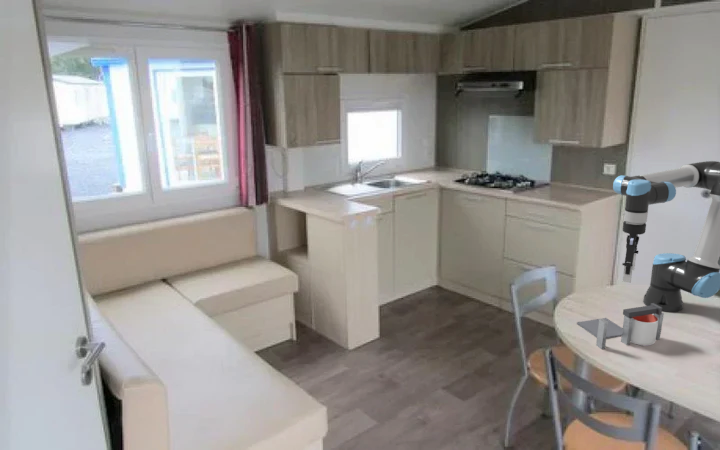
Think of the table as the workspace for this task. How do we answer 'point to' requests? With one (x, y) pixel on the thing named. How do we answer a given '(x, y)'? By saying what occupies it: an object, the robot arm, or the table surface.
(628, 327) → the posts
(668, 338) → the table surface
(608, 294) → the table surface
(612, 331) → the mat
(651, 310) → the bar
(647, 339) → the cup
